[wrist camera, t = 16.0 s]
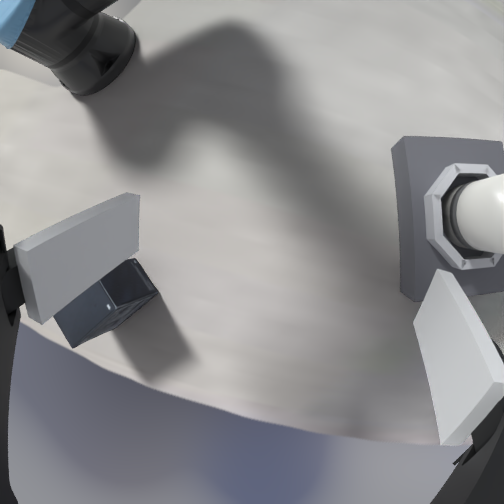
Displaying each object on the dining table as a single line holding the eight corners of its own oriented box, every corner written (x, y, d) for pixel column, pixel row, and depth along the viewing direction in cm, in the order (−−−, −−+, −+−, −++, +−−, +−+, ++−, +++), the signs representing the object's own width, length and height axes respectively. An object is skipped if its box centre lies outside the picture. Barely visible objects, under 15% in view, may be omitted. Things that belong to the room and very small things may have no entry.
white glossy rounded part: (437, 184, 30) (485, 168, 19) (487, 185, 29) (542, 172, 18) (441, 250, 30) (491, 259, 20) (491, 246, 29) (547, 254, 18)
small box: (134, 254, 43) (89, 261, 33) (160, 292, 43) (119, 309, 33) (92, 294, 45) (46, 308, 35) (115, 329, 45) (72, 351, 35)
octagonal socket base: (391, 148, 36) (410, 129, 28) (480, 151, 34) (512, 137, 25) (400, 291, 37) (421, 307, 29) (488, 282, 35) (521, 293, 26)
